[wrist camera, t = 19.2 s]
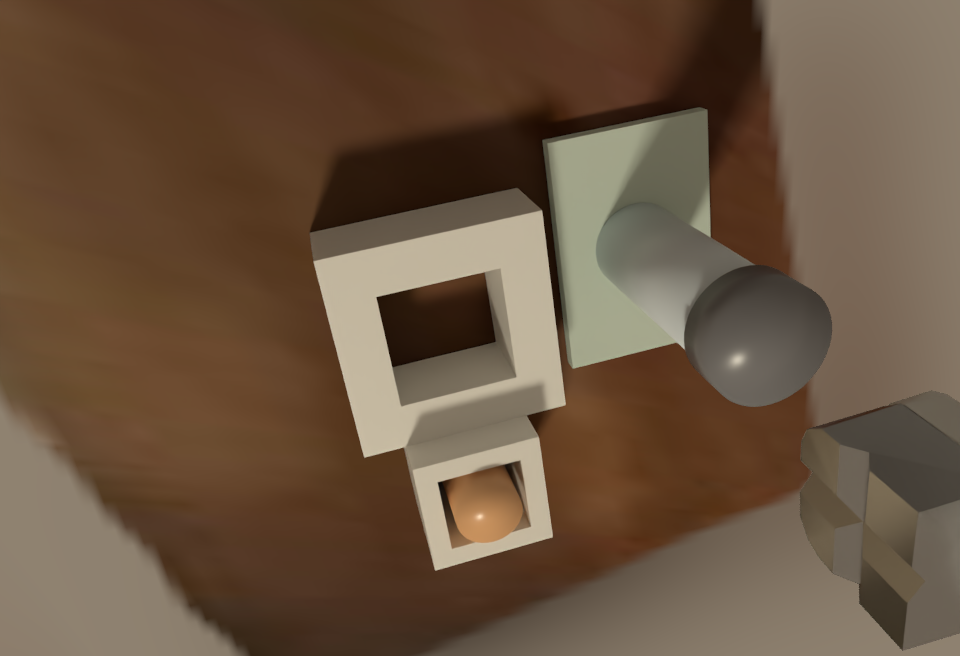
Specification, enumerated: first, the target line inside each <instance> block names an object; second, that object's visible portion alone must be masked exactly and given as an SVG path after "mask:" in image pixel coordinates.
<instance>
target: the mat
mask: <svg viewBox="0 0 960 656" xmlns="http://www.w3.org/2000/svg"><path fill="white" fill-rule="evenodd" d="M542 142H543V151H544V159H545V168H546V177H547V185H548V194H549V202H550V211H551V220H552V228H553V237H554V246H555V254H556V263H557V271H558V280H559V289H560V297H561V306H562V315H563V323H564V332H565V340H566V349H567V358H568V363H569V364H570V365H571V367H572V368H577V367H581V366H585V365H589V364H593V363H597V362H601V361H605V360H609V359H613V358H617V357H621V356H625V355H629V354H633V353H636V352H640V351H644V350H648V349H652V348H656V347H660V346H664V345H668V344H672V343H676V341H675V340H674V339H673V338H672V337H671V336H670V335H668V334H667V333H666V332H665V331H664V330H663V329H662V328H661V327H660V326H659V325H658V324H656V323H655V322H654V321H653V320H652V319H651V318H650V317H649V316H648V315H647V314H646V313H644V312H643V311H642V310H641V309H640V308H639V307H638V306H637V305H636V304H635V303H634V302H632V301H631V300H630V299H629V298H628V297H627V296H626V295H625V294H624V293H623V292H622V291H620V290H619V289H618V288H617V287H616V286H615V285H614V284H613V283H612V282H611V281H610V280H608V279H607V278H606V277H605V276H604V274H603V273H602V272H601V270H600V268H599V266H598V263H597V259H596V244H597V239H598V236H599V234H600V232H601V230H602V228H603V226H604V225H605V223H606V222H607V221H608V219H609V218H610V217H611V216H612V215H613V214H615V213H616V212H617V211H619V210H620V209H622V208H624V207H626V206H628V205H631V204H635V203H644V202H645V203H652V204H656V205H658V206H660V207H662V208H663V209H665V210H667V211H668V212H670V213H672V214H673V215H675V216H676V217H678V218H680V219H681V220H683V221H685V222H686V223H688V224H689V225H691V226H693V227H694V228H696V229H698V230H699V231H701V232H702V233H704V234H706V235H707V236H709V237H711V233H710V193H709V153H708V112H707V109H704V108H701V107H698V108H693V109H688V110H683V111H679V112H674V113H669V114H664V115H660V116H655V117H650V118H645V119H640V120H636V121H631V122H626V123H621V124H617V125H612V126H607V127H602V128H597V129H593V130H588V131H583V132H578V133H574V134H569V135H564V136H559V137H554V138H550V139H545V140H542Z"/></svg>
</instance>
